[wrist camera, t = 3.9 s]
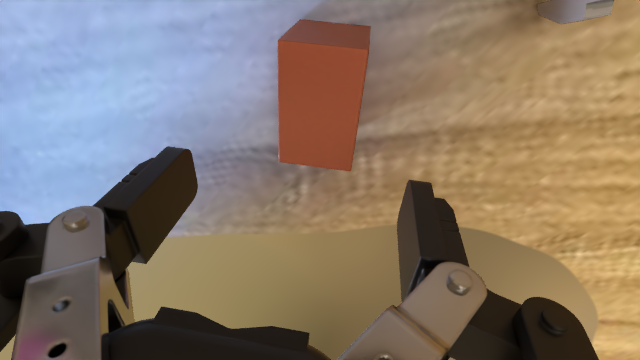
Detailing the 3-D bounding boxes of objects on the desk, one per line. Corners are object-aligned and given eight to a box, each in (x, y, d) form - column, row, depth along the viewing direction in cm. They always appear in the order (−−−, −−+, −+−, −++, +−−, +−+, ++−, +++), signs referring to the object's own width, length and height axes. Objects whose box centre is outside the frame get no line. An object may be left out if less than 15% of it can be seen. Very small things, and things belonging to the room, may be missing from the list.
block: (296, 122, 24) (278, 162, 20) (299, 19, 20) (277, 39, 16) (355, 129, 24) (350, 171, 20) (370, 26, 20) (369, 49, 15)
